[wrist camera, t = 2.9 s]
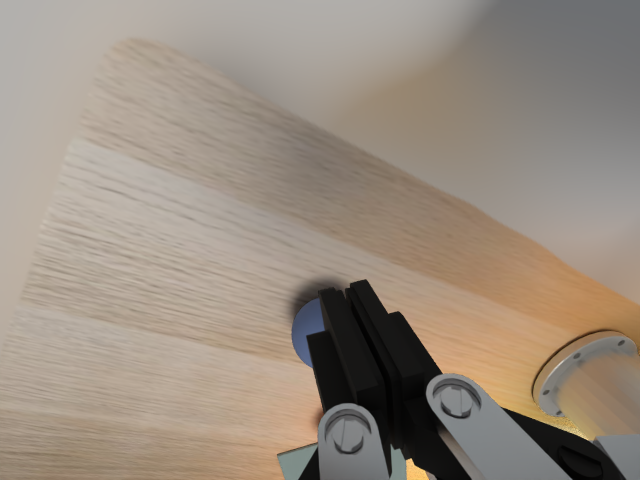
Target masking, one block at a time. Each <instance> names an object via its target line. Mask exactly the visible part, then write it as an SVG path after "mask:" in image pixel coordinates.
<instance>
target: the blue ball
mask: <svg viewBox="0 0 640 480" xmlns="http://www.w3.org/2000/svg"><path fill="white" fill-rule="evenodd" d="M321 331H325V330H324V324H323V318H322V312H321V306H320V300H319V298H316V299H314V300H312V301H310V302H308V303H307V304H305V305H304V306H303V307H302V308H301V309H300V310H299V312H298V313H297V315H296V317H295V319H294V322H293V325H292V343H293V346H294V349H295V351H296V353H297V355H298V356H299V357H300V359H301V360H302V361H303V362H304V363H305V364H306V365H308V366H309V367H311V368H313V367H312V362H311V358H310V354H309V349H308V344H307V339H306V335H310V334H313V333H317V332H321Z"/></svg>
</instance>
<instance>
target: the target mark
mask: <svg viewBox="0 0 640 480" xmlns="http://www.w3.org/2000/svg"><path fill="white" fill-rule="evenodd" d="M317 447H318V443H315V444H312V445H308V446H305V447H302V448H298V449H295V450H291V451H288V452H285V453H281V454H278V455H277V457H278V460H279V463H280V466H281V469H282V472H283V475H284V478H285V480H298V479H299V477H300V475H301V474H302V472H303V470H304V469H305V467H306V465H307V464H308V462H309V460H310V458H311V457H312V455H313V453H314V452H315V450H316V448H317ZM391 458H392V475H391V477H390V480H407V476H406V460H405V459H404V457H403V455H402V452H401V450H400V449H397V450H394V449H393V447H392V445H391Z"/></svg>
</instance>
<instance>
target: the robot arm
mask: <svg viewBox="0 0 640 480" xmlns="http://www.w3.org/2000/svg"><path fill="white" fill-rule="evenodd" d="M345 293H346V299H345V296H344V294H343V292H342V290H338V291H336V290H335V288H334V287H332V288H328V289H324V290H320V291H318V294H319V300H320V306H321V312H322V318H323V324H324V330H325V331H321V332H317V333H313V334H310V335H306V339H307V344H308V349H309V354H310V358H311V362H312V367H313V371H314V375H315V379H316V383H317V387H318V391H319V395H320V399H321V403H322V407H323V411H324V416H323V417H322V419H321V421H320V423H319V426H318V435H317V437H318V447H317V448H316V450H315V452H314V453H313V455H312V457H311V458H310V460H309V462H308V464H307V465H306V467H305V469H304V470H303V472H302V474H301V475H300V477H299V479H298V480H390V477H391V475H392V458H391V445H392V447H393V449H394V450H397V449H400V450H401V452H402V455H403V457H404V459H405V460H407V459H410V458H412V460H413V462H414V465H415V466H417V467H419V468H421V469H423V470H425V472H426V474H427V476H428V478H429V480H640V356H639V355H638V349H637V346H636V344H635V343H634V342H633V340H631V339H630V338H628V337H627V336H625V335H624V334H622V333H619V332H616V331H604V332H597V333H594V334H590V335H587V336H585V337H583V338H580V339H578V340H577V341H575V342H573V343H571V344H570V345H568V346H567V347H565V348H564V349H562V350H561V351H560V352H559V353H557V354H556V355H555V356H554V357H553V358H552V359H551V360H550V361H549V362H548V363H547V364H546V365H545V367H544V368H543V369H542V371H541V372H540V374H539V376H538V378H537V380H536V382H535V385H534V388H533V398H534V401H535V403H536V404H537V405H538V407H539V408H540V409H541V410H542V411H543V412H544V413H546V414H548V415H551V416H556V417H564V416H566V417H567V418H568V419H569V420H570V421H571V422H572V423H573V424H574V425H575V426H576V427H577V428H578V429H579V430H580V431H581V433H582V434H583V435H584V436H585V437H586V438H587V439H588V440H589V441H588V440H586V439H584V438H581V437H579V436H577V435H575V434H572V433H569V432H567V431H564V430H561V429H559V428H556V427H553V426H551V425H548V424H545V423H543V422H540V421H537V420H535V419H532V418H529V417H527V416H524V415H521V414H519V413H516V412H513V411H511V410H508V409H505V408H503V407H500V406H499V405H498V404H497V403H496V402H495V401H494V400H493V399H492V398H491V397H490V396H489V395H488V394H487V393H486V392H485V391H484V390H483V389H482V388H481V387H480V386H479V385H478V384H476V383H475V382H474V381H473V380H471V379H469V378H467V377H465V376H462V375H458V374H454V373H453V374H443V373H442V372H441V370H440V369H439V368H438V366H437V365H436V363H435V362H434V360H433V359H432V357H431V356H430V354H429V353H428V351H427V350H426V349H425V347H424V346H423V344H422V343H421V341H420V340H419V338H418V337H417V335H416V334H415V332H414V331H413V330H412V328H411V327H410V325H409V324H408V322H407V321H406V319H405V318H404V316H403V315H402V314H401V313H400V312H399V311H397V312H393V313H389V314H388V313H387V311H386V309H385V308H384V306H383V305H382V303H381V302H380V300H379V298H378V297H377V295H376V294H375V292H374V290H373V289H372V287H371V286H370V284H369V282H368V281H367V280H366V279H365V280H361V281H357V282H353V283H350V288H346V289H345Z"/></svg>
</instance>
